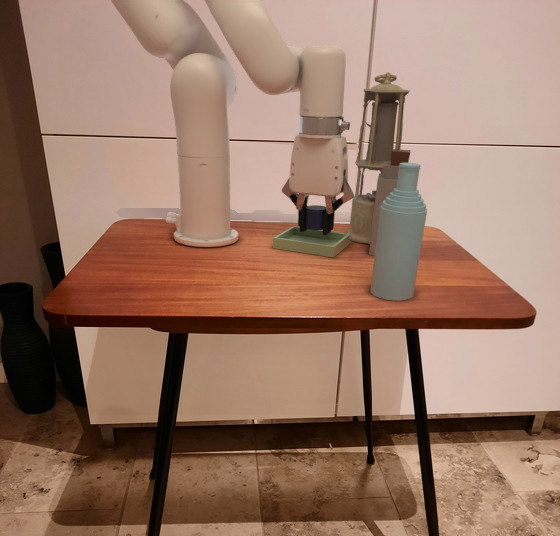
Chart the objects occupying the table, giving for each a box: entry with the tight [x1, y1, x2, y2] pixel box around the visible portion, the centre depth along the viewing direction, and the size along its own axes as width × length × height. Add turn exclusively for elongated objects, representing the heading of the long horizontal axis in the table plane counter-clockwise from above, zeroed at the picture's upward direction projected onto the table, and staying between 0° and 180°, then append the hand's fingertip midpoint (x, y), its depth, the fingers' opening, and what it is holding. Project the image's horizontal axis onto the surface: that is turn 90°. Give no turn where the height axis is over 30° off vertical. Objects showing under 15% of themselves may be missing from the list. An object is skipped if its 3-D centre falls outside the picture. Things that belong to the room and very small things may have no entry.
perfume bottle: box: [368, 148, 411, 256], centre depth 100 cm, size 7×7×18 cm
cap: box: [305, 204, 326, 230], centre depth 103 cm, size 4×4×4 cm
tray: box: [272, 225, 351, 258], centre depth 105 cm, size 12×10×2 cm
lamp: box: [346, 72, 411, 245], centre depth 106 cm, size 10×13×30 cm
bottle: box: [369, 162, 428, 302], centre depth 80 cm, size 7×7×19 cm
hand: (315, 231), depth 104 cm, fingers closed on cap, 4 cm apart
